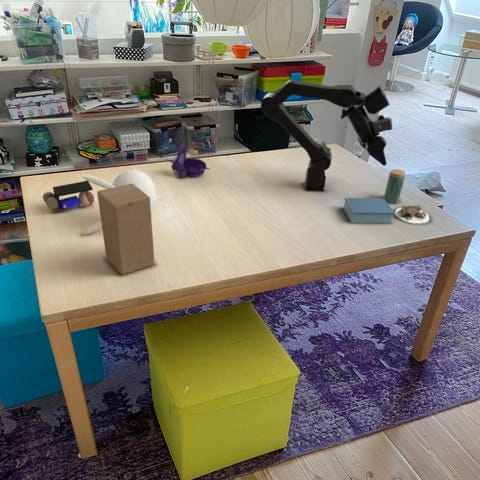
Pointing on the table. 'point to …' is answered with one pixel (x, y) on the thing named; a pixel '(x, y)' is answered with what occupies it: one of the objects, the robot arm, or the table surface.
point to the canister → (394, 186)
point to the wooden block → (127, 228)
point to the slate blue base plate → (368, 210)
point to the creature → (187, 164)
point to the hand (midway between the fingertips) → (382, 161)
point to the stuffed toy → (124, 179)
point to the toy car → (83, 198)
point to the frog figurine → (412, 214)
